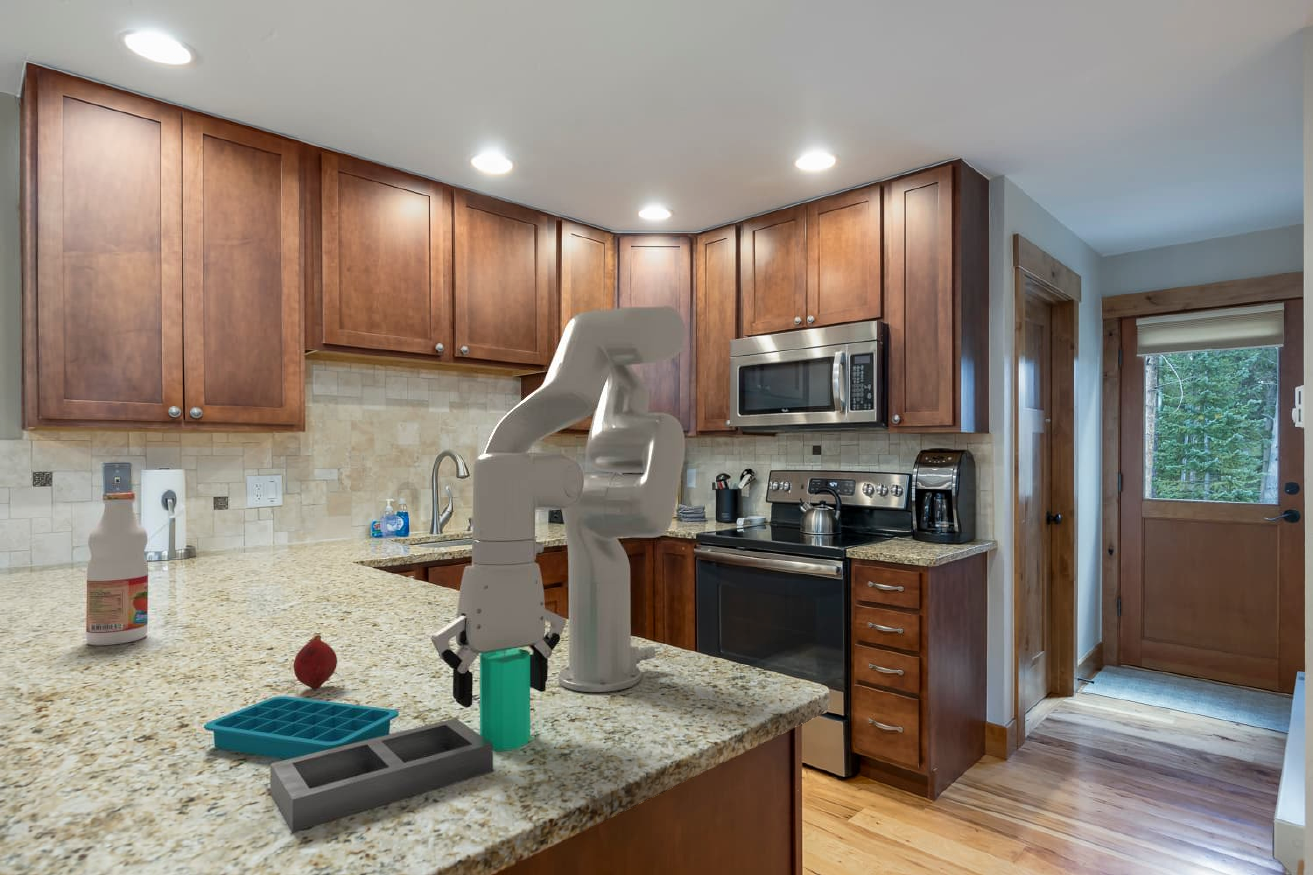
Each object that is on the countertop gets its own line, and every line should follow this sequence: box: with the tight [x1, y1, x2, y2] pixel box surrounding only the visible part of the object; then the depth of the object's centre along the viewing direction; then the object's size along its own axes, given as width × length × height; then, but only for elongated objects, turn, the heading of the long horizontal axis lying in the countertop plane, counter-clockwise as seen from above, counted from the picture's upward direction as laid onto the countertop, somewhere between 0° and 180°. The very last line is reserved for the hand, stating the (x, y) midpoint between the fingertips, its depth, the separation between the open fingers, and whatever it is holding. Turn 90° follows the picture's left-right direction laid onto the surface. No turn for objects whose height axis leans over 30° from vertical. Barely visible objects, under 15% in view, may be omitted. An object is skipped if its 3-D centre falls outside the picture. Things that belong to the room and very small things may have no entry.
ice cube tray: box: [203, 695, 400, 760], centre depth 88 cm, size 12×20×3 cm, turn 72°
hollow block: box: [269, 717, 494, 833], centre depth 76 cm, size 20×10×3 cm, turn 129°
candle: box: [479, 648, 531, 752], centre depth 87 cm, size 6×6×12 cm
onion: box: [293, 634, 338, 690], centre depth 107 cm, size 6×6×8 cm
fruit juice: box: [85, 492, 149, 646], centre depth 138 cm, size 9×9×28 cm
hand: (501, 696), depth 87 cm, fingers open, 9 cm apart
